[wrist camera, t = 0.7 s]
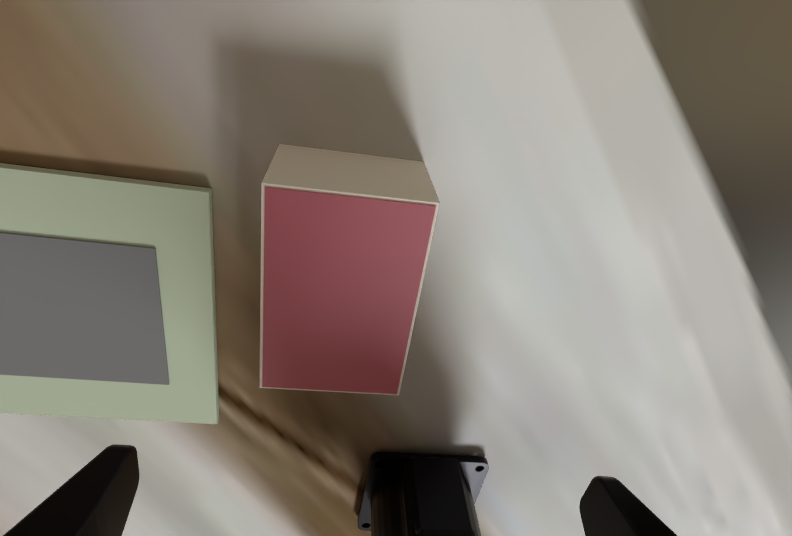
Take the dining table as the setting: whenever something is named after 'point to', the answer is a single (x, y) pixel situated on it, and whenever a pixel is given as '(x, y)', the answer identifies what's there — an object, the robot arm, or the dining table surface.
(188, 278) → the mat
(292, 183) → the card box
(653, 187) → the dining table surface
